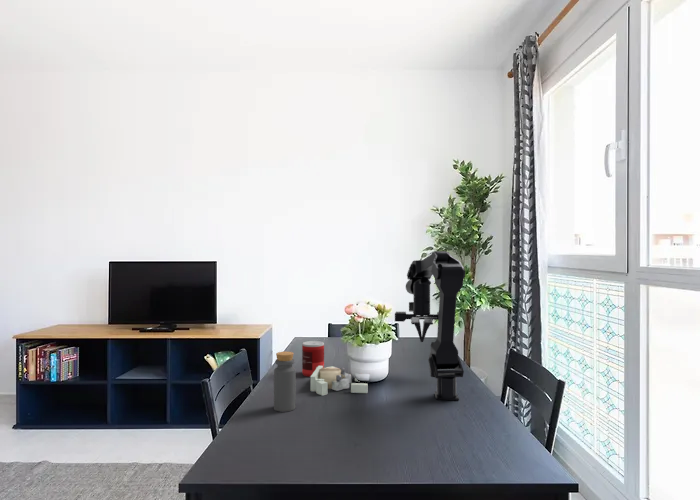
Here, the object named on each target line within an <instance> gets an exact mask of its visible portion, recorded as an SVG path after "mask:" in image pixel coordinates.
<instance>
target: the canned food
mask: <svg viewBox="0 0 700 500" xmlns="http://www.w3.org/2000/svg"><path fill="white" fill-rule="evenodd" d="M301 357H302V359H301V370H302V371H301V373H302V376H304V377H308V378H311V375H312V374H313V373H314V371H315V370H316V368H317V367H318V366H323V368H325V342H323V341H320V340H310V341H309V340H308V341H304V342H302V346H301Z"/></svg>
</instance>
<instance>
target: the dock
mask: <svg viewBox="0 0 700 500" xmlns="http://www.w3.org/2000/svg"><path fill="white" fill-rule="evenodd" d="M328 367H329V366H327V367H325V368H328ZM330 367H333V368H337V367H336V366H330ZM322 368H323V366H318V367H317V368H316V370H315V371H314V373H313V374H312V375H311V377H310V389H309V390H310V392H316V394H317V395H319V396H326V395H328V383H327V382H325V381H324V379H319V370H320V369H322ZM356 382H358V383H356ZM368 387H369V386H368V383H366V382H365V383H364V382H359V381H358V380H357V379H356V378H355V377H354V382H351V383H350V393H352V394H353V393H354V394H368Z"/></svg>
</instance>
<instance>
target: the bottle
mask: <svg viewBox="0 0 700 500" xmlns="http://www.w3.org/2000/svg"><path fill="white" fill-rule="evenodd" d="M294 354H295V353H294V352H293V351H279V352H278V351H277V352H276V359H275V360H274V362H275V365H276V367H274V369H273V410H274V411H275V412H281V413H285V412H292V411H293V410H295V409H296V392H297V391H296V390H297V389H296V387H297V386H296V376H297V375H296V371H297V370H296V368H295V367H294V366H293V364H295V359H294Z"/></svg>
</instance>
